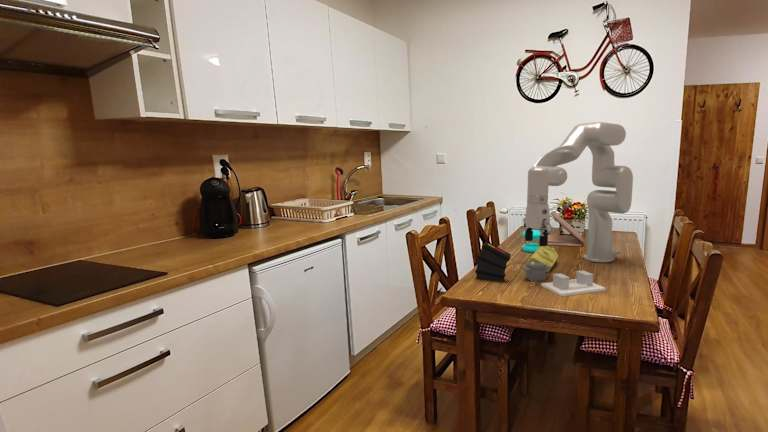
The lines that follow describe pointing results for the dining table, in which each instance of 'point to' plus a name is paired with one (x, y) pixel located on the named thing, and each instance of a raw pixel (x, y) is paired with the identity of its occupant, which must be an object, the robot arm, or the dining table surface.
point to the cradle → (573, 284)
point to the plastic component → (544, 257)
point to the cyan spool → (532, 246)
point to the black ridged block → (492, 263)
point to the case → (565, 240)
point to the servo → (536, 271)
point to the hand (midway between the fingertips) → (535, 243)
